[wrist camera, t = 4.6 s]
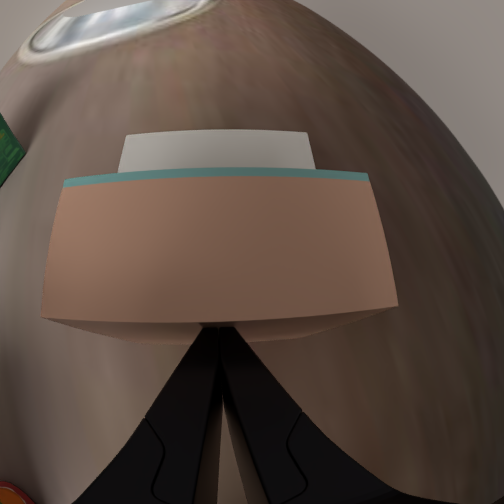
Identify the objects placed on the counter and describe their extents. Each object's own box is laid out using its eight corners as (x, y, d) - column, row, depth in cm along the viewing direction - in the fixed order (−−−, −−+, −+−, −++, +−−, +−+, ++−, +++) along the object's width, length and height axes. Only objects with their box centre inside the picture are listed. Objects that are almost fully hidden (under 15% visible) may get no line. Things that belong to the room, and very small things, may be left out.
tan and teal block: (299, 338, 16) (398, 305, 7) (141, 343, 15) (41, 317, 6) (293, 271, 17) (367, 173, 8) (142, 276, 16) (64, 178, 7)
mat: (329, 254, 18) (331, 252, 17) (106, 260, 16) (103, 258, 16) (305, 135, 21) (306, 132, 21) (127, 138, 20) (126, 135, 19)
